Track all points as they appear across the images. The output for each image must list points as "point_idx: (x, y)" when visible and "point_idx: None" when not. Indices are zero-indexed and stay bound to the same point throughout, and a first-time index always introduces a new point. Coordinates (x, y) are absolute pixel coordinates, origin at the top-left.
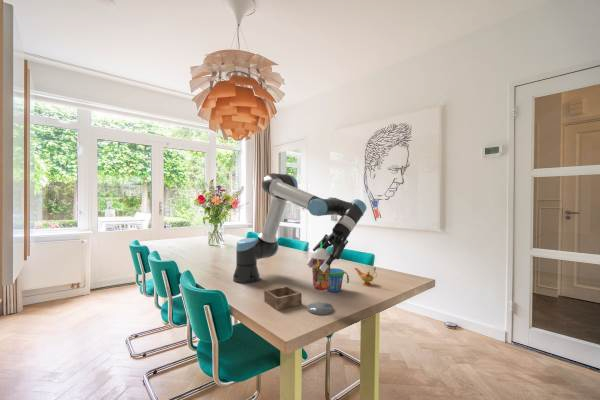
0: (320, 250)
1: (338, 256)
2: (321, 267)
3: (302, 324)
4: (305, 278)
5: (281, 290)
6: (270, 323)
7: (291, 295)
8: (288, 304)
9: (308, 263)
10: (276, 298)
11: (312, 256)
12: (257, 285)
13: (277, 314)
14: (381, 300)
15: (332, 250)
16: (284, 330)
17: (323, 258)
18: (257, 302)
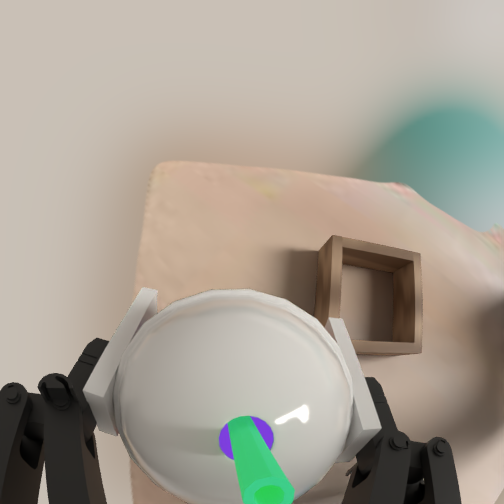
0: (193, 364)
1: (23, 437)
2: (138, 297)
3: (183, 241)
4: (461, 486)
5: (409, 320)
6: (253, 183)
7: (330, 297)
8: (319, 291)
9: (329, 326)
10: (338, 237)
11: (292, 310)
12: (493, 323)
13: (292, 232)
14: None
15: (65, 473)
16: (195, 184)
17: (133, 339)
18: (400, 245)
